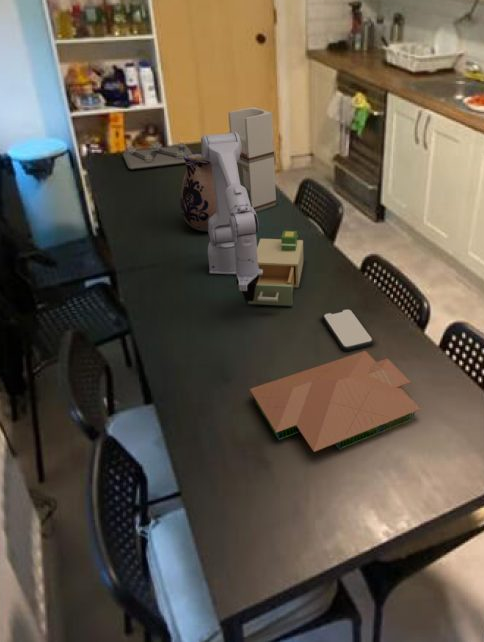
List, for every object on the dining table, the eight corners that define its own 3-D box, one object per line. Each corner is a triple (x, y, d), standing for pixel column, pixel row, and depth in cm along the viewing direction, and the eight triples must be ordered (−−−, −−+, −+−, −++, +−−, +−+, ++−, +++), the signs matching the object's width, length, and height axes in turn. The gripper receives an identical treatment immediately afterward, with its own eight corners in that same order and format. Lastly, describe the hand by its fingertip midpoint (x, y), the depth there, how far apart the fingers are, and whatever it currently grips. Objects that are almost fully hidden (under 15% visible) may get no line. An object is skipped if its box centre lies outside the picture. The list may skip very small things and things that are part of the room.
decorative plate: (129, 172, 245) (126, 156, 241) (122, 156, 261) (119, 141, 257) (198, 163, 256) (196, 148, 252) (187, 149, 272) (185, 134, 268)
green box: (295, 252, 170) (295, 239, 167) (281, 251, 170) (280, 238, 167) (297, 241, 175) (297, 229, 173) (283, 241, 176) (283, 228, 173)
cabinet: (298, 287, 168) (298, 264, 164) (253, 285, 168) (251, 262, 164) (303, 262, 181) (303, 240, 176) (261, 260, 181) (260, 238, 177)
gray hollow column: (259, 197, 225) (254, 107, 206) (276, 205, 219) (272, 113, 199) (235, 204, 218) (228, 112, 199) (252, 213, 212) (246, 118, 193)
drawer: (290, 313, 155) (289, 294, 151) (246, 311, 155) (244, 292, 152) (297, 279, 170) (297, 261, 167) (257, 277, 170) (255, 259, 167)
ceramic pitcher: (173, 231, 197) (162, 162, 184) (206, 209, 214) (199, 144, 200) (216, 241, 192) (208, 170, 178) (247, 217, 208) (242, 151, 195)
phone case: (375, 345, 145) (350, 312, 157) (375, 341, 144) (350, 307, 156) (343, 353, 142) (320, 318, 154) (343, 348, 141) (320, 314, 154)
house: (429, 415, 124) (433, 388, 120) (293, 471, 110) (292, 442, 106) (374, 357, 141) (376, 331, 136) (250, 399, 127) (248, 372, 123)
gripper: (257, 270, 140) (260, 315, 147) (265, 243, 152) (268, 286, 159) (228, 269, 140) (233, 314, 148) (240, 242, 152) (243, 285, 160)
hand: (249, 299), depth 154 cm, fingers closed
